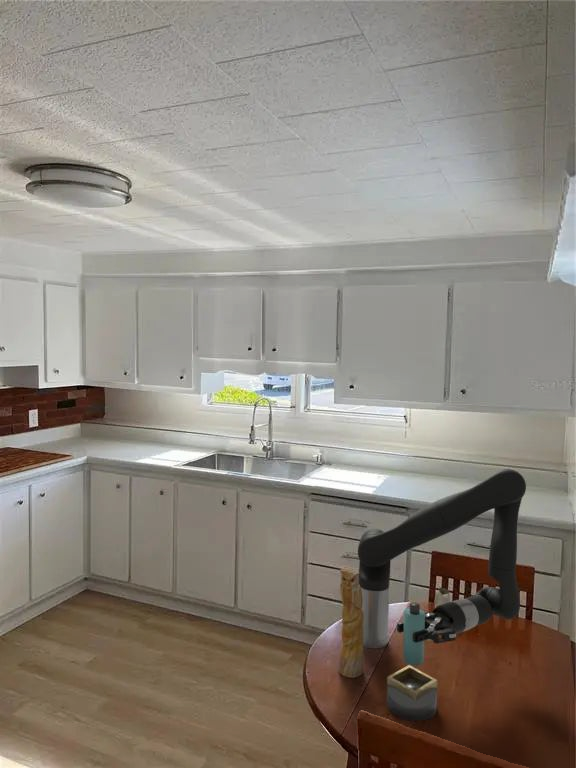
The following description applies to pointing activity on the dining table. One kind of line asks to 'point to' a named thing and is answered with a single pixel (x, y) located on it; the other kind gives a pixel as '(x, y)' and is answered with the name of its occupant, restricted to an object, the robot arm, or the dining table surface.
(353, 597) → the sculpture
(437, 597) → the grey sack
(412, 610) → the bottle
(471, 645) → the dining table surface
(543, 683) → the dining table surface
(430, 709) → the disc with square collar
